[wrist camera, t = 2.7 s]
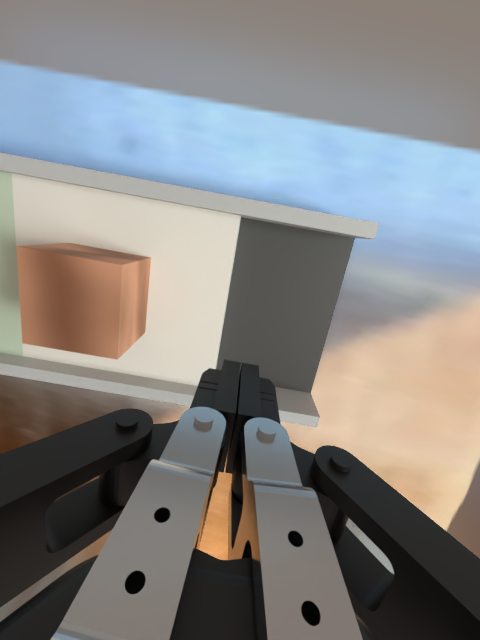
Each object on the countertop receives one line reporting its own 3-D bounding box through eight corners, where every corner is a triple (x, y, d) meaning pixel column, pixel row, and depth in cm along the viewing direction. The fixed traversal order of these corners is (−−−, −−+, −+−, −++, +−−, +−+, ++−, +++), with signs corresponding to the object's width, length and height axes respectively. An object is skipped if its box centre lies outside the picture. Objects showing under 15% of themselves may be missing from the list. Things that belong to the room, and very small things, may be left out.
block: (151, 257, 21) (121, 265, 16) (145, 332, 23) (117, 359, 18) (69, 242, 21) (16, 246, 16) (70, 319, 22) (22, 343, 18)
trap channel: (356, 224, 22) (379, 223, 18) (307, 399, 27) (316, 427, 23) (-218, 118, 21) (-321, 92, 17) (-164, 319, 26) (-236, 334, 22)
